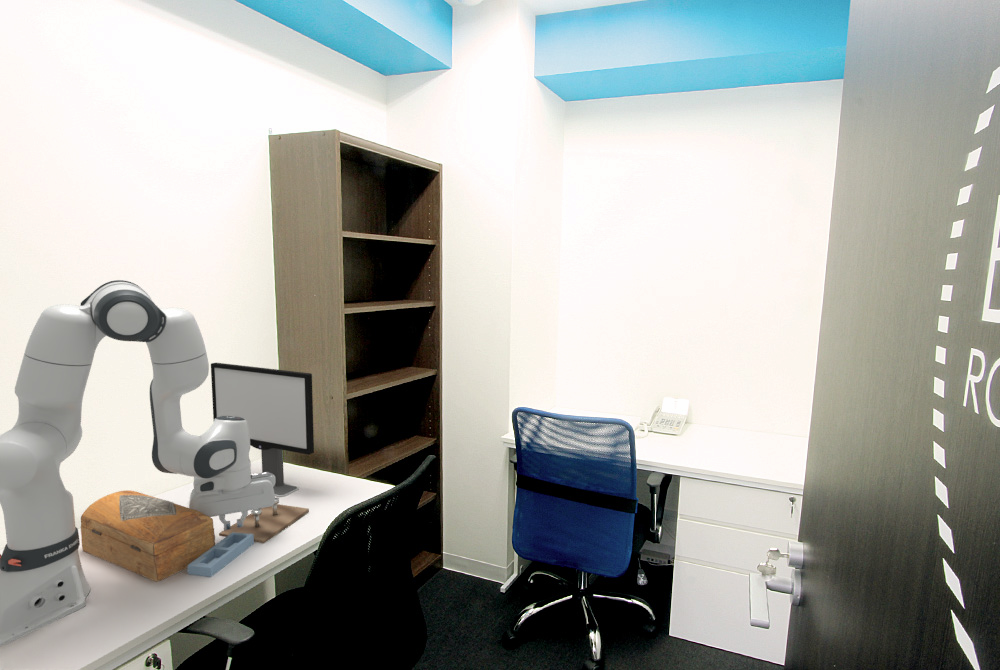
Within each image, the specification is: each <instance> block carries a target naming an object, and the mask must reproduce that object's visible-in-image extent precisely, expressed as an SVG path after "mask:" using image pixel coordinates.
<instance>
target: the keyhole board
mask: <svg viewBox="0 0 1000 670" xmlns="http://www.w3.org/2000/svg"><path fill="white" fill-rule="evenodd" d="M260 509H262V514H261V515H259V525H260V526H259V527H255V519H254V516H252V515H251V513H250V514H248V515H247V516H246V518H245V520H244V521H243V527H240V528H237V522H235V523H233V524H231V525H230V527H231V529H229V530H224V529H223V530H222V531H221V532H219V533H218V535H219V536H221V537H224V538H225V537H227V536H228V535H229V534H231V533H232V532H236V533H247V534H253V535H254V543H261V544H265V543H267V542H268V541H270V540H271V539H272V538H274V537H275V536H277V535H278V534H280V533H281V532H283V531H285V530H286V529H288V528H289V527H290V526H291V525H293V524H294V523H296V522H298V520H300V519H301V518H302V517H305V515H307V514H308V513H309V512H310V508H307V507H299V506H292V505H287V504H286V505H285V504H279V503H278V504H277V515H275V516H273V512H272V506H271V507H266V508H260ZM288 526H289V527H288ZM285 528H286V529H285ZM282 530H283V531H282Z"/></svg>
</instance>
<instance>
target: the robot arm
mask: <svg viewBox="0 0 1000 670" xmlns="http://www.w3.org/2000/svg"><path fill="white" fill-rule="evenodd" d="M105 337H108V338H111V339H113V340H116V341H121V342H137V343H145V344H146V346H147V348H148V352H149V357H150V360H151V361H150V362H151V366H152V379H151V382H150V384H149V402H150V404H149V405H150V412H151V423H152V424H151V425H152V431H153V441H152V448H151V459H152V460H151V461H152V465H153V466H154V467H155V468H156V469H157V470H158V471H159V472H160V473H164V474H175V475H182V476H185V477H186V476H187V477H192V478H193V489H192V490H191V492H190V494H189V495H190V496H189V502H188V508H189V509H193V510H197V511H199V512H201V513H203V514H205V515H207V516H209V517H211V518H212V517H218V518H219V521H220V522H221V523H222V525H223V531H224V530H229V529H231V527H230V526H231V520H226V515H230V514H236V513H241V516H240V518H238V519H236V523H237V528H240V527H243V521H244V520H245V518H246V516H248V515H249V514H248V511H252V510H254V509H260V508H266V507H271V506H273V505H274V503H275V498H276V496H275V494H274V489H273V487H274V485H275V483H276V478H275V475H274V474H272V473H269V472H264V473H262V472H260V473H259V472H258V473H257V472H256V473H252V468H251V467H252V466H251V465H252V463H251V459H250V450H251V445H250V433H249V427H248V424H247V421H246V420H245V419H244V418H241V417H236V416H220V417H217V418H215V419H214V420H213V424H212V425H211V426H210V427H209V428H208V429H207V430H206V431H205V432H204V433H202V434H201V435H197V434H196V435H194V434H190V433H188V432H187V430H185V429H184V428H183V423H182V421H183V420H182V411H181V398H182V396H183V395H186V394H188V393H190V392H193V391H194V390H196V389H198V388H200V386H202V385H203V384H204V383H205V381H206V380H207V378H208V376H209V371H210V370H209V369H210V365H209V363H210V362H209V359H208V358H209V357H208V354H207V349H206V346H205V342H204V337H203V335H202V332H201V329H200V327H199V324H198V322H197V320H196V318H195V316H194V314H193V313H191V312H190V311H189V310H187V309H184V308H179V307H166V308H163V307H161V308H160V307H158V305H156V303H155V302H154V301H153V300H152V298H151V296H150V295H149V294H148V292H147V291H146V290H144V289H143V288H142V287H141V286H140V285H138V284H136V283H134V282H131V281H128V280H121V279H117V280H111V281H108V282H105V283H103V284H102V285H100V286H98V287H97V288H95V289H94V291H92V292H91V293H90V294H89V295H88V296H86V297H85V298H84V299H82V301H81V302H80V305H76V304H75V305H74V304H70V303H69V304H66V303H65V304H64V303H63V304H62V303H61V304H54V305H51V306H49V307H47V308H45V309H44V310H43V311H42V313H41V314H40V315H39V317H38V319H37V320H36V323H35V325H34V326H33V329H32V331H31V333H30V335H29V338H28V341H27V343H26V347H25V350H24V354H23V358H22V361H21V365H20V368H19V372H18V375H17V379H16V381H15V382H16V383H15V386H14V394H15V395H16V397H17V402H18V416H17V420H16V422H15V423H14V425H13V427H12V428H11V429H9V430H7V431H5V432H4V433H2V434H0V506H1V508H2V514H3V519H4V527H5V528H4V529H5V537H6V538H5V539H6V544H5V546H4V549H3V550H2V553H0V647H1V646H5V645H7V644H8V643H11V642H14V641H15V640H17V639H19V638H22V637H24V636H26V635H28V634H30V633H32V632H35V631H37V630H39V629H41V628H43V627H46V626H48V625H50V624H52V623H53V622H56V621H58V620H60V619H62V618H64V617H67V616H68V615H71V614H72V613H74V612H76V611H79V610H80V609H83V608H84V607H85V606H86V605H87V601H86V600H87V599H86V598H87V597H88V595H89V593H90V591H91V585H90V584H89V582H88V580H87V578H86V575H85V572H84V569H83V566H82V565H83V564H82V562H81V557H80V553H79V547H80V545H81V544H80V533H79V528H78V527H77V526H76V519H75V518H76V517H75V506H74V497H73V494H72V493H71V491H69V490H67V489H66V486H65V485H64V482H63V480H62V477H61V474H60V468H61V463H63V461H65V460H66V459H67V458H69V457H70V456H71V455H72V454H73V453H74V452H75V451H76V450H77V448H78V446H79V445H80V442H81V440H82V437H83V427H82V425H81V424H82V407H83V399H84V394H85V391H86V386H87V383H88V380H89V376H90V373H91V368H92V364H93V361H94V357H95V353H96V349H97V348H98V346H99V344H100V342H101V341H102V340H103V339H104V338H105ZM194 477H196V478H195V479H194Z"/></svg>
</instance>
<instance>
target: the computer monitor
mask: <svg viewBox="0 0 1000 670" xmlns="http://www.w3.org/2000/svg"><path fill="white" fill-rule="evenodd" d="M210 376H211V377H210V379H211V393H212V395H211V398H212V400H211V401H212V415H213V417H212V418H213V421H214V419H215V418H217V417H220V416H236V417H241V418H244V419H245V420H246V421H247V424H248V427H249V433H250V447H252V448H254V449H257V450H261V451H260V452H261V473H264V472H269V473H272V474H274V475H275V478H276V483H275V485H274V487H273V489H274V494H275V498H283V497H286V496H289V495H291V494H293V493H295V492H296V491H299V486H297V485H294V484H289V483H285V481H284V480H285V477H284V476H285V475H284V451H288V452H294V453H298V454H303V455H309V456H310V455H312V454H314V453H315V446H314V445H315V442H314V441H315V440H314V437H315V436H314V403H313V402H314V400H313V399H314V398H313V374H312V373H309V372H301V371H295V370H287V369H286V370H284V369H276V368H269V367H268V368H267V367H266V368H265V367H258V366H249V365H239V364H231V363H223V362H212V363H210Z"/></svg>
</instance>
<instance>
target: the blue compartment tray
mask: <svg viewBox="0 0 1000 670" xmlns="http://www.w3.org/2000/svg"><path fill="white" fill-rule="evenodd" d="M254 544H255V542H254V535H253V534H247V533H236V532H232V533H231V534H229V535H228V536H227V537H225V536H224V537H223V539H221V540H220V541H218V542H217V543H215V545H214V546H213V547H212V548H210V549H209V550H208V551H206V552H205V553H204V554H202V555H201V556H200V557H198V558H197V559H195V560H194V561H193V562H191V563H190V564H189V565H187V568H186V569H187V575H190V576H191V575H194V576H199V577H206V578H207V577H208V578H209V577H210V578H212V577H213V576H214V575H216V574H217V573H218V572H220V571H221V570H222V569H223V568H225V567H226V566H227V565H228V564H230V563H231V562H233V561H234V560H235V559H236V558H237V557H240V555H241V554H243V553H244V552H245V551H246V550H248V549H249V548H250V547H251V546H253V545H254Z"/></svg>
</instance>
